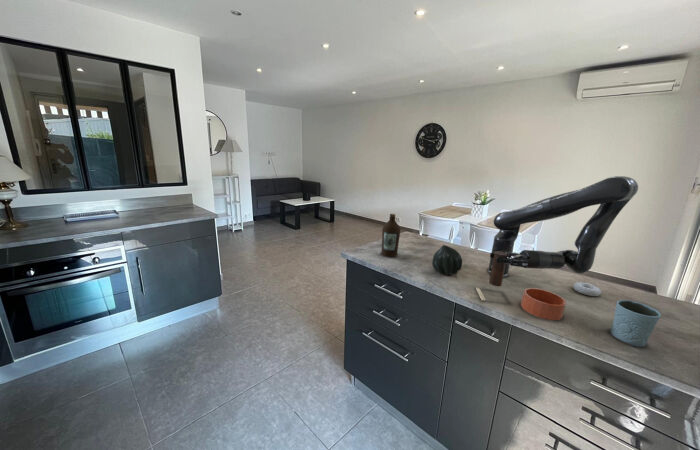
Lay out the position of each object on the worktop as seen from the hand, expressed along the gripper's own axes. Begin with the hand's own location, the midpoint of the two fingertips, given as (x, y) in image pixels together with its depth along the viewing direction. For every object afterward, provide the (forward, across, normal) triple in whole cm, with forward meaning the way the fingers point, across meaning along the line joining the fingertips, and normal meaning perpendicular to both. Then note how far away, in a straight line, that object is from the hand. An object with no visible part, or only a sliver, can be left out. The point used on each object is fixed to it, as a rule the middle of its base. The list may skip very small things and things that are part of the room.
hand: (493, 257), depth 111 cm
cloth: (-2, 0, +18) cm, 18 cm away
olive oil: (+38, -45, +18) cm, 62 cm away
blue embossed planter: (-37, +24, +19) cm, 48 cm away
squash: (+11, -24, +18) cm, 32 cm away
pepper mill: (-3, 0, +12) cm, 12 cm away
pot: (-17, +10, +18) cm, 27 cm away
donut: (-50, -10, +19) cm, 54 cm away
